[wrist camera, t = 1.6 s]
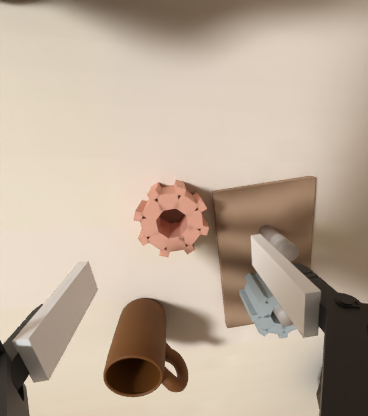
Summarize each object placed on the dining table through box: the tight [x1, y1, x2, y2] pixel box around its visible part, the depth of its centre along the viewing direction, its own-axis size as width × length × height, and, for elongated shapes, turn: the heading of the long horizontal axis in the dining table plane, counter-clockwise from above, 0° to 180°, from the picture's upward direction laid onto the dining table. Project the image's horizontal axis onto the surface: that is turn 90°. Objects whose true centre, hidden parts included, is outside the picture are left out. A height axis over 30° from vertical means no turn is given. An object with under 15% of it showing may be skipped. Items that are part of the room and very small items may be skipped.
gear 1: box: [134, 180, 209, 257], centre depth 25 cm, size 9×9×5 cm
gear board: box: [212, 176, 316, 328], centre depth 27 cm, size 24×14×7 cm, turn 8°
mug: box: [103, 299, 188, 397], centre depth 29 cm, size 12×8×9 cm, turn 56°
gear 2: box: [240, 273, 297, 338], centre depth 29 cm, size 9×9×5 cm
